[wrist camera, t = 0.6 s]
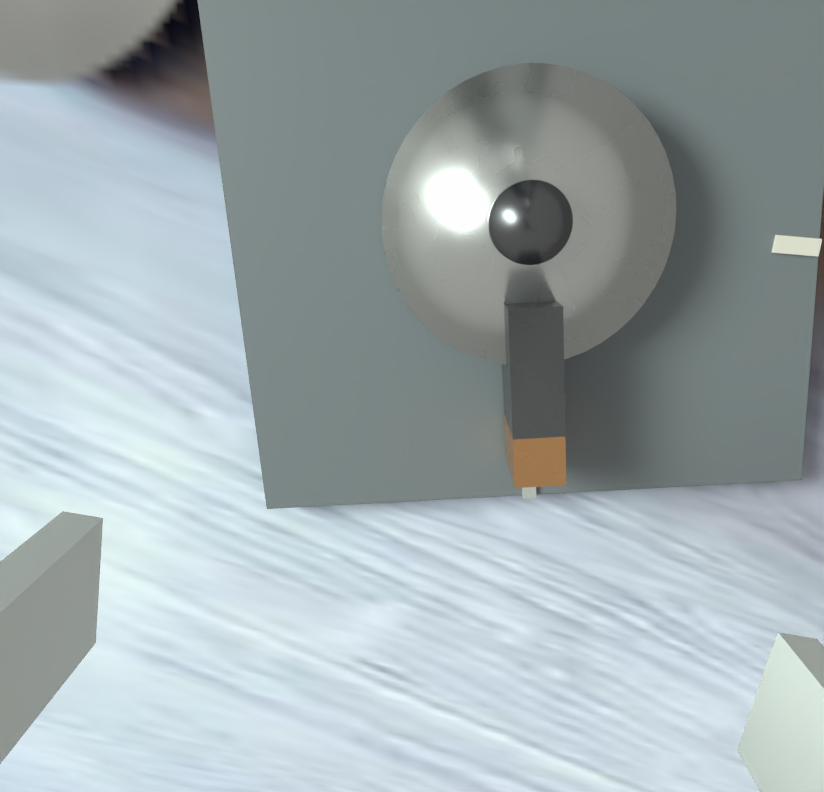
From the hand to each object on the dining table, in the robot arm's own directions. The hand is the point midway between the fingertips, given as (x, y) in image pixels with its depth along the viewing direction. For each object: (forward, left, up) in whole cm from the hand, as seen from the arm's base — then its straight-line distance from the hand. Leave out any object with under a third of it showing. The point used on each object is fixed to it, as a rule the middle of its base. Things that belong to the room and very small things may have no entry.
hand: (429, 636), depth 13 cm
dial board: (-7, +4, -19) cm, 21 cm away
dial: (-5, +4, -17) cm, 18 cm away
